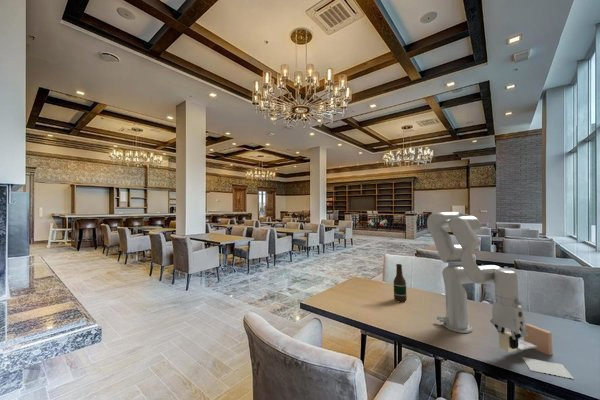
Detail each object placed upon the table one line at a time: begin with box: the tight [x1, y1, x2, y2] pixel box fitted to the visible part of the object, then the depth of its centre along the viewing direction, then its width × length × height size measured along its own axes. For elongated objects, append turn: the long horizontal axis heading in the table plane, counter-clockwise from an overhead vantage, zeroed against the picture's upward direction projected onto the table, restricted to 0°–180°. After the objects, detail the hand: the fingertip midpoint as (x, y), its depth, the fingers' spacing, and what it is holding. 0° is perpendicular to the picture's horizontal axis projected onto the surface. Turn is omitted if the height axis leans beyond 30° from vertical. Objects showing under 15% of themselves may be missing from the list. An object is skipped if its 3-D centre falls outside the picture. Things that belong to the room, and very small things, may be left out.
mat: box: [522, 356, 575, 380], centre depth 97 cm, size 12×9×1 cm
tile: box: [523, 322, 554, 356], centre depth 110 cm, size 2×9×9 cm, turn 18°
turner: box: [498, 331, 537, 353], centre depth 106 cm, size 16×6×6 cm, turn 108°
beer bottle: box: [393, 263, 408, 303], centre depth 170 cm, size 8×8×24 cm
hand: (508, 344), depth 104 cm, fingers closed on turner, 3 cm apart
